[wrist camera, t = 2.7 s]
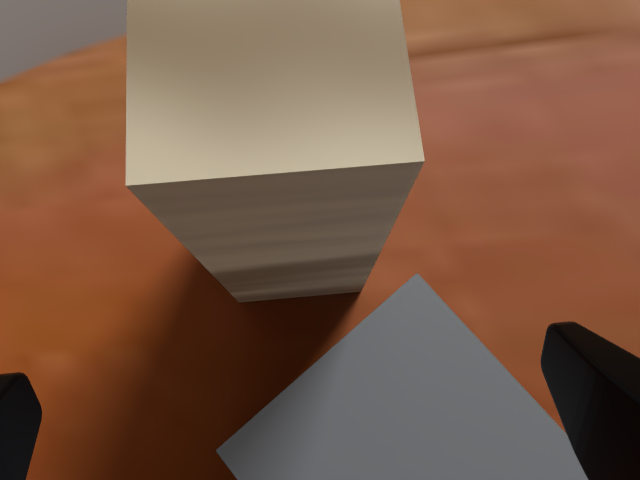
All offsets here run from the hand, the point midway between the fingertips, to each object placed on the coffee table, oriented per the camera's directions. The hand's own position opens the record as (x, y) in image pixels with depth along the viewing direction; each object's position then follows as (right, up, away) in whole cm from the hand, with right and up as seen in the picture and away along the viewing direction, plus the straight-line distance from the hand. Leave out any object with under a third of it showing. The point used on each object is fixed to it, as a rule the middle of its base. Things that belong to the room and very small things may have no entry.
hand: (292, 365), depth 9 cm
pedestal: (+3, -6, +11) cm, 13 cm away
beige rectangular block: (-1, +2, +13) cm, 13 cm away
